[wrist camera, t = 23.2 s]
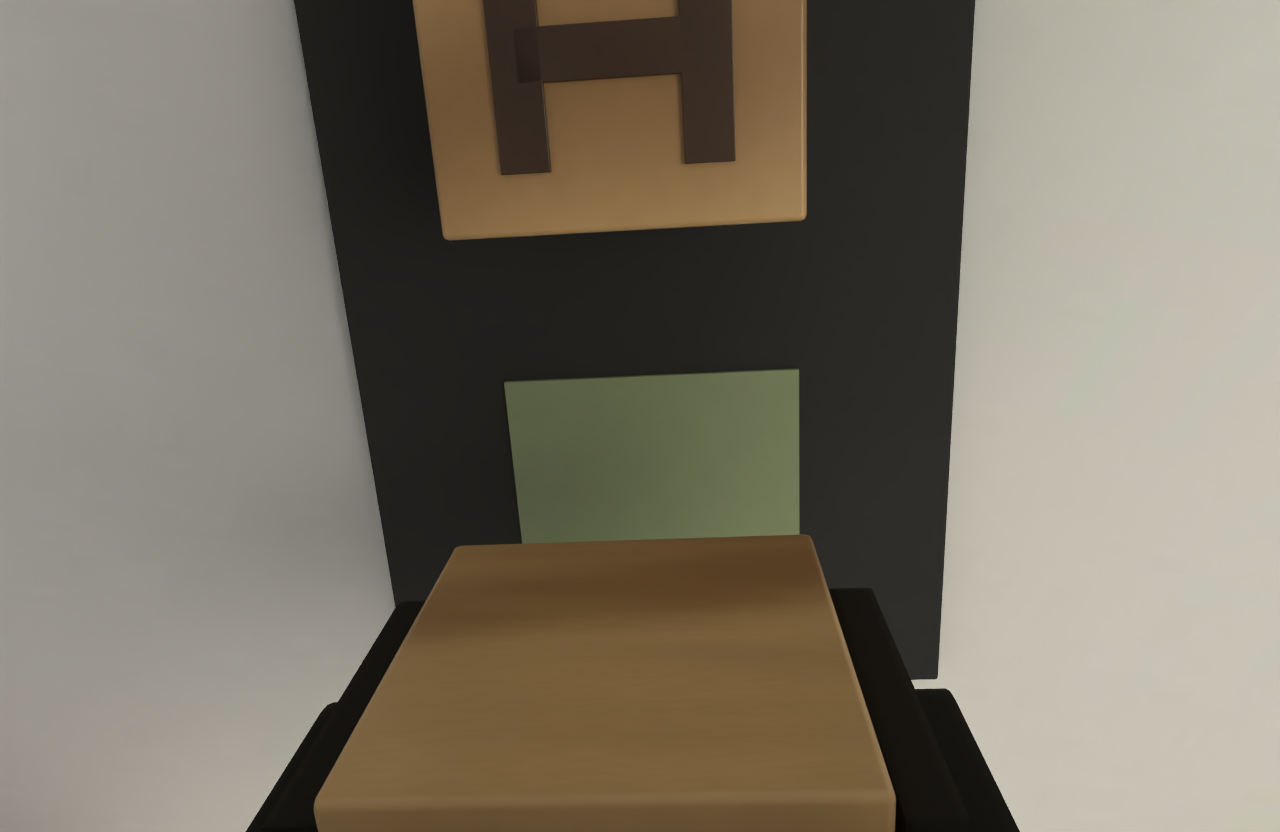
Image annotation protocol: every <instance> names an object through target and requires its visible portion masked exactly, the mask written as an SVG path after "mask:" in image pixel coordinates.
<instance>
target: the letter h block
mask: <svg viewBox="0 0 1280 832" xmlns="http://www.w3.org/2000/svg"><path fill="white" fill-rule="evenodd" d="M413 7H414V15H415V23H416V31H417V39H418V46H419V54H420V62H421V70H422V77H423V85H424V93H425V101H426V108H427V116H428V124H429V132H430V139H431V147H432V155H433V163H434V171H435V178H436V186H437V194H438V202H439V209H440V217H441V225H442V233H443V236H444V238H445V239H446V240H449V241H451V240H469V239H487V238H505V237H522V236H540V235H558V234H576V233H594V232H612V231H630V230H648V229H665V228H683V227H701V226H719V225H737V224H755V223H773V222H790V221H801V220H804V219H805V217H806V215H807V0H413Z"/></svg>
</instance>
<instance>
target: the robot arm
mask: <svg viewBox="0 0 1280 832" xmlns="http://www.w3.org/2000/svg"><path fill="white" fill-rule="evenodd" d="M829 592H830V595H831V599H832V602H833V605H834V608H835V611H836V614H837V617H838V620H839V623H840V626H841V629H842V632H843V635H844V638H845V641H846V644H847V648H848V651H849V654H850V657H851V660H852V663H853V666H854V669H855V672H856V675H857V678H858V681H859V684H860V687H861V690H862V693H863V697H864V700H865V703H866V706H867V709H868V712H869V715H870V718H871V721H872V724H873V727H874V730H875V733H876V736H877V739H878V742H879V746H880V749H881V752H882V755H883V758H884V761H885V764H886V767H887V770H888V773H889V776H890V779H891V782H892V785H893V788H894V791H895V795H896V818H895V832H1020V831H1019V829H1018V827H1017V825H1016V823H1015V821H1014V819H1013V817H1012V815H1011V813H1010V811H1009V809H1008V807H1007V805H1006V803H1005V801H1004V799H1003V796H1002V794H1001V792H1000V790H999V788H998V786H997V784H996V782H995V780H994V778H993V776H992V774H991V772H990V770H989V768H988V766H987V764H986V762H985V760H984V758H983V756H982V754H981V751H980V749H979V747H978V745H977V743H976V741H975V739H974V737H973V735H972V733H971V731H970V729H969V727H968V725H967V723H966V721H965V719H964V717H963V715H962V713H961V711H960V709H959V707H958V704H957V702H956V700H955V699H954V697H953V695H952V694H951V692H950V691H949V690H947V689H914V686H913V684H912V682H911V679H910V677H909V675H908V672H907V670H906V667H905V665H904V663H903V660H902V658H901V656H900V653H899V651H898V649H897V646H896V644H895V642H894V639H893V637H892V634H891V632H890V630H889V627H888V625H887V623H886V620H885V618H884V616H883V613H882V611H881V609H880V606H879V604H878V602H877V599H876V597H875V594H874V592H873V590H872V589H871V588H835V589H829ZM424 603H425V601H403V602H400V603H399V604H398V605H397V606H396V608H395V610H394V611H393V613H392V615H391V616H390V618H389V620H388V621H387V623H386V624H385V626H384V628H383V629H382V631H381V633H380V634H379V636H378V638H377V639H376V641H375V642H374V644H373V646H372V647H371V649H370V651H369V652H368V654H367V656H366V657H365V659H364V660H363V662H362V664H361V665H360V667H359V669H358V670H357V672H356V673H355V675H354V677H353V678H352V680H351V682H350V683H349V685H348V687H347V688H346V690H345V691H344V693H343V695H342V696H341V698H340V700H339V701H338V702H334V703H331V704H329V705H327V706H326V707H325V708H324V710H323V711H322V712H321V713H320V715H319V716H318V718H317V720H316V721H315V723H314V724H313V726H312V727H311V729H310V731H309V732H308V734H307V735H306V737H305V739H304V740H303V742H302V743H301V745H300V747H299V748H298V750H297V751H296V753H295V754H294V756H293V758H292V759H291V761H290V762H289V764H288V766H287V767H286V769H285V770H284V772H283V774H282V775H281V777H280V778H279V780H278V781H277V783H276V785H275V786H274V788H273V789H272V791H271V793H270V794H269V796H268V797H267V799H266V800H265V802H264V804H263V805H262V807H261V808H260V810H259V812H258V813H257V815H256V816H255V818H254V820H253V821H252V823H251V824H250V826H249V827H248V829H247V831H246V832H318V829H317V824H316V819H315V815H314V803H315V799H316V797H317V795H318V793H319V792H320V790H321V788H322V786H323V784H324V783H325V781H326V779H327V777H328V775H329V774H330V772H331V770H332V768H333V767H334V765H335V763H336V761H337V759H338V758H339V756H340V754H341V752H342V750H343V749H344V747H345V745H346V743H347V741H348V740H349V738H350V736H351V734H352V732H353V731H354V729H355V727H356V725H357V723H358V722H359V720H360V718H361V716H362V714H363V713H364V711H365V709H366V707H367V705H368V704H369V702H370V700H371V698H372V697H373V695H374V693H375V691H376V689H377V688H378V686H379V684H380V682H381V680H382V679H383V677H384V675H385V673H386V671H387V670H388V668H389V666H390V664H391V662H392V661H393V659H394V657H395V655H396V653H397V652H398V650H399V648H400V646H401V644H402V643H403V641H404V639H405V637H406V636H407V634H408V632H409V630H410V628H411V627H412V625H413V623H414V621H415V619H416V618H417V616H418V614H419V612H420V610H421V609H422V607H423V605H424Z"/></svg>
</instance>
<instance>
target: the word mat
mask: <svg viewBox="0 0 1280 832" xmlns="http://www.w3.org/2000/svg"><path fill="white" fill-rule="evenodd" d="M294 3H295V9H296V15H297V21H298V27H299V33H300V39H301V45H302V51H303V57H304V63H305V69H306V75H307V81H308V87H309V93H310V99H311V105H312V111H313V117H314V123H315V129H316V135H317V141H318V147H319V153H320V159H321V165H322V171H323V176H324V182H325V188H326V194H327V200H328V206H329V212H330V218H331V224H332V230H333V236H334V242H335V248H336V254H337V260H338V266H339V272H340V278H341V284H342V290H343V296H344V302H345V308H346V314H347V320H348V326H349V332H350V338H351V344H352V350H353V356H354V361H355V367H356V373H357V379H358V385H359V391H360V397H361V403H362V409H363V415H364V421H365V427H366V433H367V439H368V445H369V451H370V457H371V463H372V469H373V475H374V481H375V487H376V493H377V499H378V505H379V511H380V517H381V523H382V529H383V535H384V541H385V546H386V552H387V558H388V564H389V570H390V576H391V582H392V588H393V594H394V600H395V606H397V605H398V604H399V603H400V602H403V601H426V600H427V598H428V596H429V594H430V592H431V591H432V589H433V587H434V585H435V583H436V582H437V580H438V578H439V576H440V575H441V573H442V571H443V569H444V567H445V566H446V564H447V562H448V560H449V558H450V557H451V555H452V553H453V551H454V549H455V548H456V547H459V546H468V545H498V544H528V543H558V542H588V541H618V540H648V539H679V538H709V537H739V536H769V535H799V534H806V535H809V536H811V538H812V541H813V543H814V547H815V550H816V553H817V556H818V559H819V562H820V565H821V568H822V571H823V574H824V577H825V580H826V583H827V586H828V589H835V588H871V589H872V590H873V592H874V594H875V597H876V599H877V602H878V604H879V606H880V609H881V611H882V613H883V616H884V618H885V620H886V623H887V625H888V627H889V630H890V632H891V634H892V637H893V639H894V642H895V644H896V646H897V649H898V651H899V653H900V656H901V658H902V660H903V663H904V665H905V667H906V670H907V672H908V675H909V677H910V679H911V680H916V679H937V677H938V660H939V642H940V624H941V606H942V588H943V570H944V551H945V533H946V515H947V497H948V479H949V461H950V443H951V425H952V407H953V389H954V371H955V353H956V335H957V317H958V299H959V281H960V262H961V244H962V226H963V208H964V190H965V172H966V154H967V136H968V118H969V100H970V82H971V64H972V46H973V28H974V10H975V0H807V215H806V217H805V219H804V220H801V221H790V222H773V223H755V224H737V225H719V226H701V227H683V228H665V229H648V230H630V231H612V232H594V233H576V234H558V235H540V236H522V237H505V238H487V239H469V240H451V241H449V240H446V239H445V238H444V236H443V233H442V225H441V217H440V209H439V202H438V194H437V186H436V178H435V171H434V163H433V155H432V147H431V139H430V132H429V124H428V116H427V108H426V101H425V93H424V85H423V77H422V70H421V62H420V54H419V46H418V39H417V31H416V23H415V15H414V7H413V0H294Z"/></svg>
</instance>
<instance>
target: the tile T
mask: <svg viewBox="0 0 1280 832" xmlns="http://www.w3.org/2000/svg"><path fill="white" fill-rule="evenodd" d="M314 815H315V819H316V824H317V829H318V832H895V818H896V795H895V791H894V788H893V785H892V782H891V779H890V776H889V773H888V770H887V767H886V764H885V761H884V758H883V755H882V752H881V749H880V746H879V742H878V739H877V736H876V733H875V730H874V727H873V724H872V721H871V718H870V715H869V712H868V709H867V706H866V703H865V700H864V697H863V693H862V690H861V687H860V684H859V681H858V678H857V675H856V672H855V669H854V666H853V663H852V660H851V657H850V654H849V651H848V648H847V644H846V641H845V638H844V635H843V632H842V629H841V626H840V623H839V620H838V617H837V614H836V611H835V608H834V605H833V602H832V599H831V595H830V592H829V589H828V586H827V583H826V580H825V577H824V574H823V571H822V568H821V565H820V562H819V559H818V556H817V553H816V550H815V547H814V543H813V541H812V538H811V536H809V535H806V534H799V535H769V536H739V537H709V538H679V539H648V540H618V541H588V542H558V543H528V544H498V545H468V546H459V547H456V548H455V549H454V551H453V553H452V555H451V557H450V558H449V560H448V562H447V564H446V566H445V567H444V569H443V571H442V573H441V575H440V576H439V578H438V580H437V582H436V583H435V585H434V587H433V589H432V591H431V592H430V594H429V596H428V598H427V600H426V601H425V603H424V605H423V607H422V609H421V610H420V612H419V614H418V616H417V618H416V619H415V621H414V623H413V625H412V627H411V628H410V630H409V632H408V634H407V636H406V637H405V639H404V641H403V643H402V644H401V646H400V648H399V650H398V652H397V653H396V655H395V657H394V659H393V661H392V662H391V664H390V666H389V668H388V670H387V671H386V673H385V675H384V677H383V679H382V680H381V682H380V684H379V686H378V688H377V689H376V691H375V693H374V695H373V697H372V698H371V700H370V702H369V704H368V705H367V707H366V709H365V711H364V713H363V714H362V716H361V718H360V720H359V722H358V723H357V725H356V727H355V729H354V731H353V732H352V734H351V736H350V738H349V740H348V741H347V743H346V745H345V747H344V749H343V750H342V752H341V754H340V756H339V758H338V759H337V761H336V763H335V765H334V767H333V768H332V770H331V772H330V774H329V775H328V777H327V779H326V781H325V783H324V784H323V786H322V788H321V790H320V792H319V793H318V795H317V797H316V799H315V803H314Z"/></svg>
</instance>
